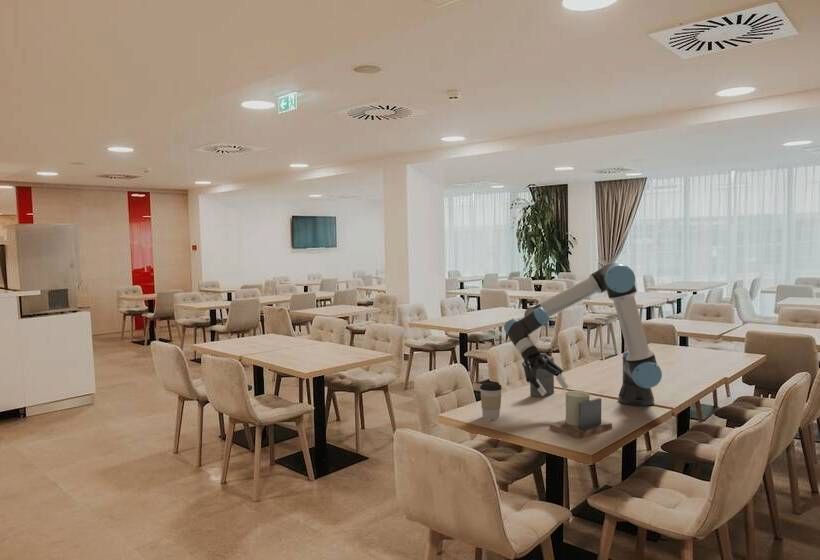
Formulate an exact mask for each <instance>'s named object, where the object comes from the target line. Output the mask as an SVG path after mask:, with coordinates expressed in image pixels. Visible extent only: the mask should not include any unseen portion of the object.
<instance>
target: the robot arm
mask: <svg viewBox="0 0 820 560" xmlns="http://www.w3.org/2000/svg"><path fill="white" fill-rule="evenodd" d="M605 292H606V293H607V297H608V299H610V300H612V301H613V304H614V308H615V311H616V314H617V315H616V316H617V319H618V322H619V326H620V329H621V333H622V336H623V340H624V343H625V346H626V351H624V352H623V353H622V357H621V358H622V384H621V387H620V390H619V392H618V393H619V394H618V402H620V404H621V403H622V404H625V405H629V406H635V407H637V406H638V407H643V406H651V405H654V404H655V397H654V394H653V391H652V388H654V387H656V386H657V385H659V384H660V382H661V380H662V378H663V371H662V369H661V367H660V366H659V365H658V362H657V360H656V359H657V358H656V356H655V353H654V352H653V351H652V350H651V349H649V345H648V341H647V338H646V334H645V330H644V327H643V324H642V320H641V316H640V313H639V309H638V305H637V302H636V298H635V295H636V293H637V288H636V275H635V272H634V271H633V270H632V269H631V267H629V266H628V265H627V264H624V263H616V262H615V263H614V262H611V263H608V264H606V265H604V266H602V267H601V268H600V269H598V270H596V271H594V272H593V273H591V274H589V277H588V278H586V279H584V280H581V281H580V282H578V283H576V284H575V285H573V286H571V287H569V288H567V289H565V290H563V291H561V292H559V293H557V294H555V295H553V296H551V297H549V298H547V299H546V300H544V301H542V302H540V303H539V304H536V305H534V306H530V307H528V308H527V309H525V311H524V314H523V315H524V316H523V317H522V318H521V319H518V318H511V319H508V320H507V321H506V322H505V323H504V325H503V329H504V332H505V334H506V336H507V337H508V338H509V340H510V341H511V342H512V344H513V346H514V347H515V348H516V350H517V351H518V353H519V354H520V356H521V358H522V359H523V362H522V363H521V365H522V368H523V370H524V376H525V379H526V382H527V383H529V385H530V384H532V383H533V385H534V386H535V388H536V389H538V391H539V392H540V394H541V396H544V395H545V393H546V390H545V389H544V387H543V386H542V384H541V383H540V381H539V380H538V379H536V370H537V369H541V368H542V369H545V370H547V371H548V372H550V373H552V374H553V375H554V377H555V379H556V381H557V382H558V384H559V385H560V386H561V388H562V389H563V391H567V389H568V388H569V387H570V385H569V384H568V383H567V381H566V379H565V377H564V376H563V375H562V374H563V372H564V370H563V369H562V368H561V367H560V366H558V365H557V364H556V363H555V362H554V363H553V362H552V361H551V360H550V359H549V358H548V357H547V356H548V355H547V356H545V357H543V358H542V357H541V356H540V353H541V352H540V350H539V348H538V347H537V345H535V343H534V341H533V340H532V339H531V337H530V334H532V333H533V332H535V331H537V330H538V329H539V328H541V327H543V326H545V325H546V324H547V323H548V322H549V321H550V320H551V318H550V317H552V316H554V315H556V314H558V313H560V312H562V311H564V310H565V309H568V308H570V307H572V306H574V305H575V304H577V303H579V302H581V301H583V300H586V299H588V298H590V297H591V296H593V295H595V294H598V293H599V294H602V293H605ZM544 364H545V365H544ZM530 366H531V371H530ZM653 403H654V404H653Z"/></svg>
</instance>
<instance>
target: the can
mask: <svg viewBox="0 0 820 560" xmlns="http://www.w3.org/2000/svg"><path fill="white" fill-rule="evenodd" d="M586 401H590V392H586V391H584V390H583V391H582V390H570V391H566V392H565V419H564V420H565V422H566V423H567V424H569V425H574V426H579V403H582V402H586Z"/></svg>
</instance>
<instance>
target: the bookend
mask: <svg viewBox="0 0 820 560" xmlns="http://www.w3.org/2000/svg"><path fill="white" fill-rule="evenodd" d="M601 420H602V398H601V397H598V398H595V399H594V398H593V399H591V400H590V399H589V401H586V402H582V403H579V429H580V430H583V431H588V430H591V429H594V428H598V427H601V426H604V425H606V424H604V423H601Z"/></svg>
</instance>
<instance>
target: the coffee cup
mask: <svg viewBox="0 0 820 560" xmlns="http://www.w3.org/2000/svg"><path fill="white" fill-rule="evenodd" d="M479 389H480V404H481V409H482V418H483V419H484V420H487V419H496V420H499V419H500V415H501V414H500V412H501V404H502V403H501V402H502V389H503V387H502V384H500V383H499V382H498V381H493V380H485V381H484V382H482V384H481V385H480V386H479ZM498 418H499V419H498Z"/></svg>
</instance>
